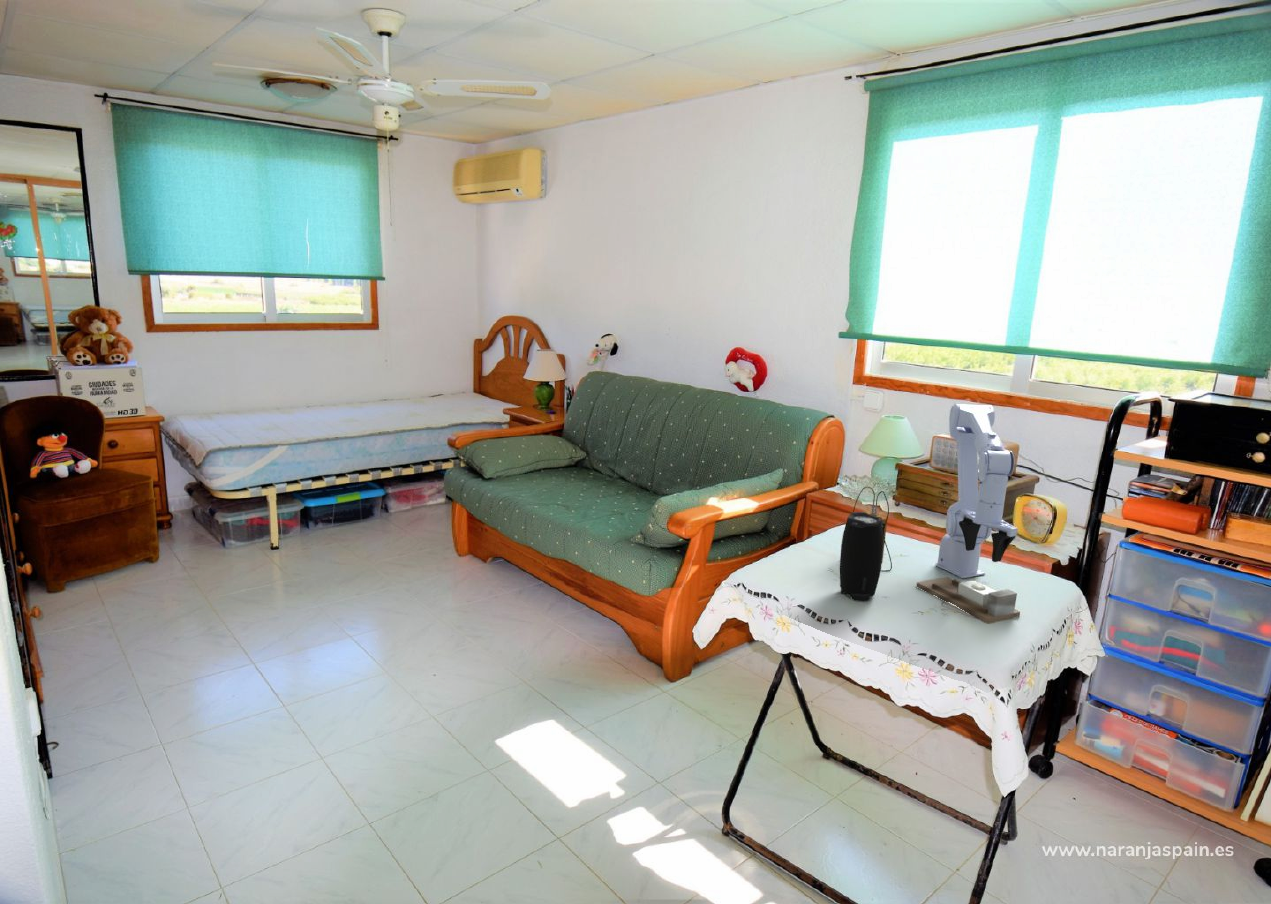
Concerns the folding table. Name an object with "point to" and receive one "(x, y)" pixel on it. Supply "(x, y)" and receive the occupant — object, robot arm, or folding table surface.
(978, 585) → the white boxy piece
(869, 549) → the portable speaker
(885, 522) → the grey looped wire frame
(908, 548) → the folding table surface
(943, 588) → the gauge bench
